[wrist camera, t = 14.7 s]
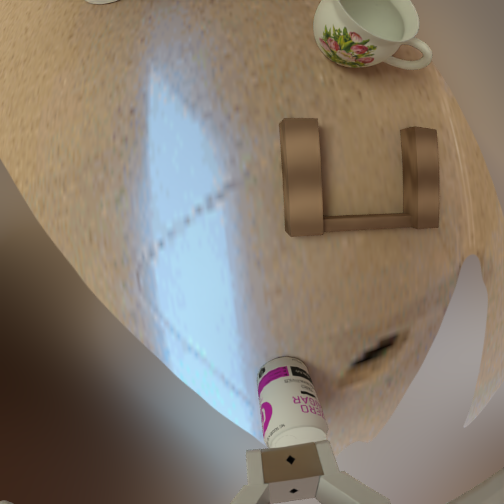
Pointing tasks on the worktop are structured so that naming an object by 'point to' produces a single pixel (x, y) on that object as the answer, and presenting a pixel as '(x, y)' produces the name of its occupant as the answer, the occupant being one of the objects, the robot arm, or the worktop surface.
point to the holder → (313, 223)
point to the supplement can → (289, 404)
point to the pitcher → (368, 32)
